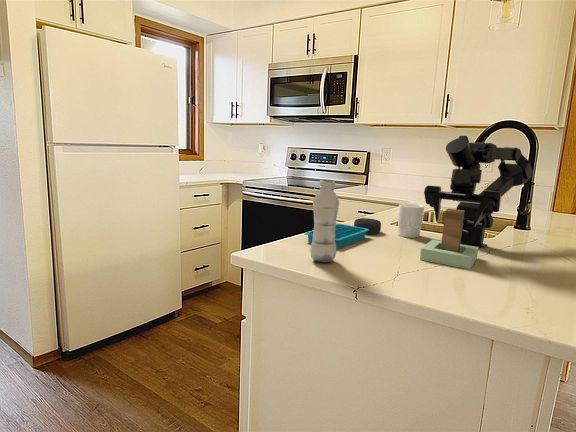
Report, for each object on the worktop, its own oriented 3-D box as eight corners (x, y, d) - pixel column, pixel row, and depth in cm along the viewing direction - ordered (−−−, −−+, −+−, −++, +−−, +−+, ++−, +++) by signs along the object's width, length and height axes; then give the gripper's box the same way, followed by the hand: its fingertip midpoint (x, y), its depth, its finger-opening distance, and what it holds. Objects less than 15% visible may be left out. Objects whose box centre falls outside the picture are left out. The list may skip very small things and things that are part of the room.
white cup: (422, 239, 124) (426, 208, 122) (396, 237, 125) (399, 206, 124) (419, 233, 132) (422, 204, 130) (395, 231, 133) (398, 202, 131)
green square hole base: (430, 249, 112) (432, 239, 111) (477, 258, 105) (478, 247, 105) (419, 259, 102) (421, 248, 101) (470, 269, 95) (471, 257, 95)
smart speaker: (370, 228, 138) (371, 217, 137) (385, 234, 130) (386, 222, 129) (348, 229, 134) (349, 218, 133) (363, 235, 126) (364, 223, 125)
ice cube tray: (302, 243, 115) (303, 233, 114) (337, 232, 131) (338, 223, 130) (336, 251, 108) (337, 240, 107) (369, 238, 124) (370, 229, 123)
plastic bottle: (338, 259, 99) (343, 180, 96) (332, 266, 93) (337, 182, 89) (313, 255, 101) (318, 178, 98) (306, 263, 95) (310, 180, 91)
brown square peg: (442, 255, 106) (448, 208, 104) (458, 258, 104) (464, 210, 102) (439, 259, 103) (445, 210, 100) (455, 262, 101) (462, 212, 98)
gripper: (429, 156, 108) (414, 200, 101) (505, 160, 99) (495, 209, 92) (432, 182, 117) (419, 224, 109) (503, 188, 107) (494, 235, 100)
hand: (454, 223), depth 102 cm, fingers open, 9 cm apart
